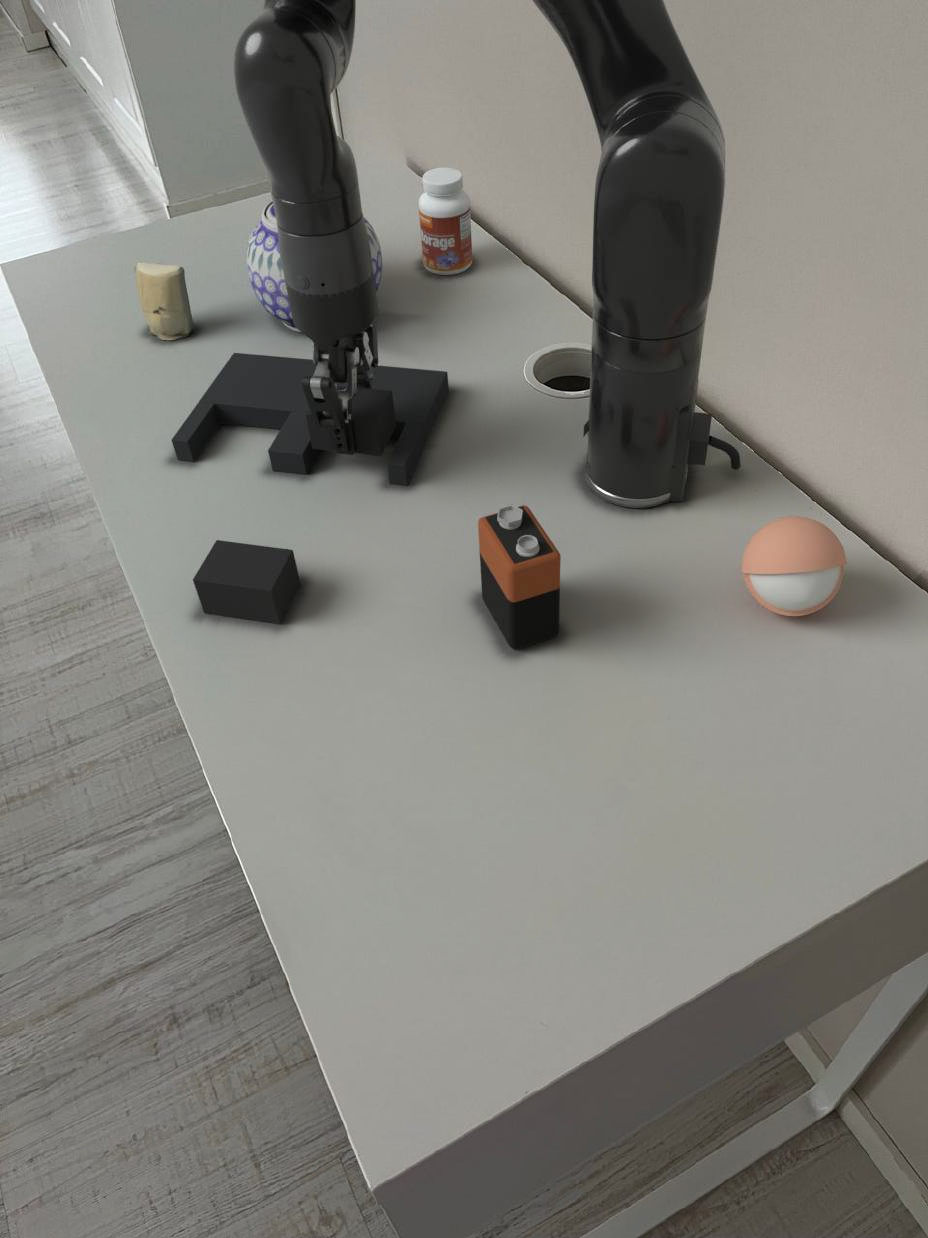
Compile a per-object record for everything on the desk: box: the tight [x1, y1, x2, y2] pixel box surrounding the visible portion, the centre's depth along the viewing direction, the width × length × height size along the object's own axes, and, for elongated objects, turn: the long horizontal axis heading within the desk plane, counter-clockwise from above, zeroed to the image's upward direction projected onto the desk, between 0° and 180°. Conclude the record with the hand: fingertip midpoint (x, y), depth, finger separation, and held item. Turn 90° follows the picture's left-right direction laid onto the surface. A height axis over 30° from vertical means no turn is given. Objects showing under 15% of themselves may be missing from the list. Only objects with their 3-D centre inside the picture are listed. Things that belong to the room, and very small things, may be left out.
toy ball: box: [741, 515, 848, 617], centre depth 81 cm, size 8×8×8 cm
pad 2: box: [306, 386, 396, 457], centre depth 97 cm, size 7×5×4 cm
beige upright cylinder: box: [133, 261, 195, 341], centre depth 117 cm, size 6×5×8 cm
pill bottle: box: [418, 167, 473, 276], centre depth 123 cm, size 6×6×11 cm
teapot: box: [246, 201, 383, 333], centre depth 116 cm, size 25×15×15 cm, turn 21°
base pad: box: [171, 352, 450, 487], centre depth 104 cm, size 24×16×2 cm, turn 76°
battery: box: [477, 504, 562, 650], centre depth 81 cm, size 4×7×10 cm, turn 21°
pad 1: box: [192, 539, 302, 625], centre depth 87 cm, size 7×5×4 cm
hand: (355, 433), depth 99 cm, fingers closed on pad 2, 5 cm apart
